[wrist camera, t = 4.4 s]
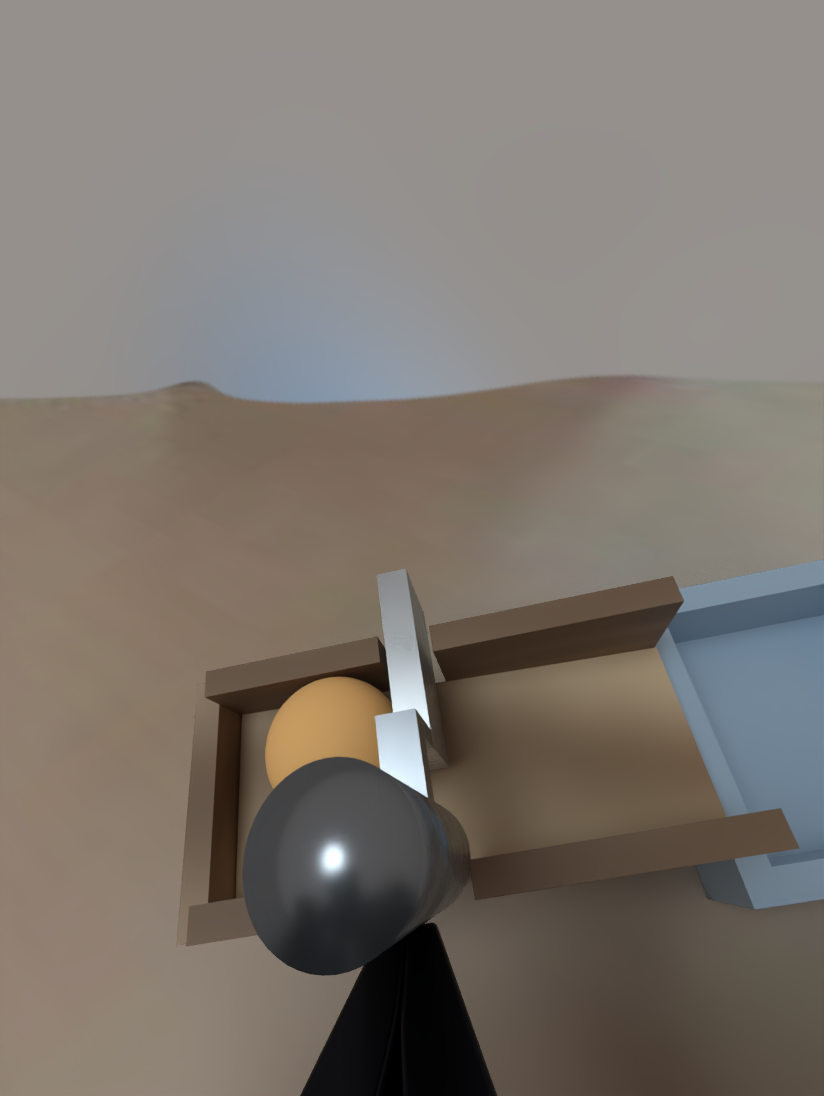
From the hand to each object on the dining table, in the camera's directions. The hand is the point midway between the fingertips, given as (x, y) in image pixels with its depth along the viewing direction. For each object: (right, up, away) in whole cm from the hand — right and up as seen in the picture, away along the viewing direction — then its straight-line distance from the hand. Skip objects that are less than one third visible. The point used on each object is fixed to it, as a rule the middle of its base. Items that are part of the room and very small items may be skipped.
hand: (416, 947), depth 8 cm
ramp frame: (+3, -3, +11) cm, 12 cm away
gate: (0, +1, +7) cm, 7 cm away
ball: (-2, +1, +5) cm, 6 cm away
